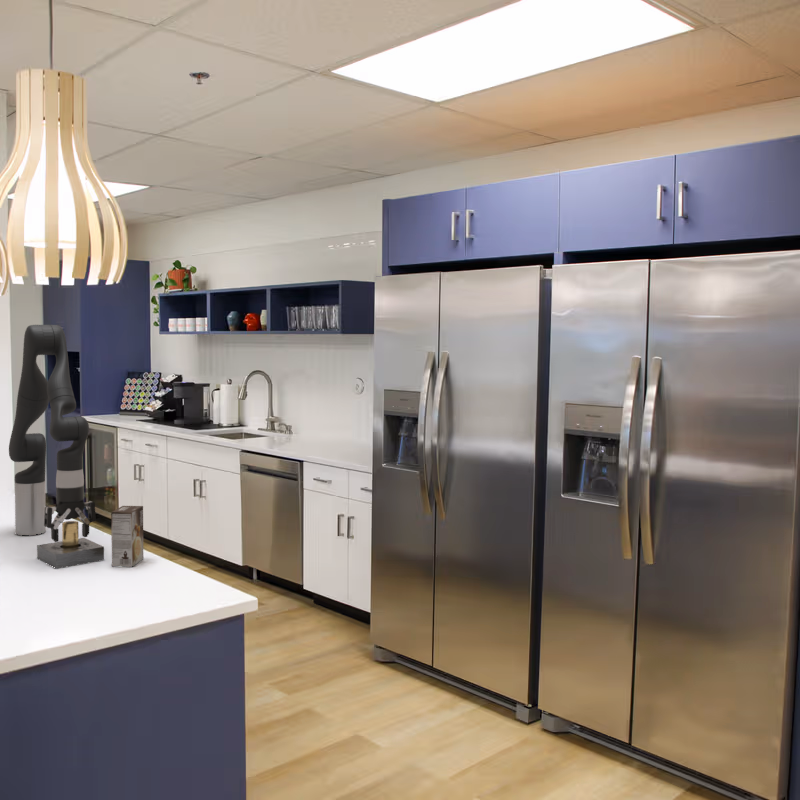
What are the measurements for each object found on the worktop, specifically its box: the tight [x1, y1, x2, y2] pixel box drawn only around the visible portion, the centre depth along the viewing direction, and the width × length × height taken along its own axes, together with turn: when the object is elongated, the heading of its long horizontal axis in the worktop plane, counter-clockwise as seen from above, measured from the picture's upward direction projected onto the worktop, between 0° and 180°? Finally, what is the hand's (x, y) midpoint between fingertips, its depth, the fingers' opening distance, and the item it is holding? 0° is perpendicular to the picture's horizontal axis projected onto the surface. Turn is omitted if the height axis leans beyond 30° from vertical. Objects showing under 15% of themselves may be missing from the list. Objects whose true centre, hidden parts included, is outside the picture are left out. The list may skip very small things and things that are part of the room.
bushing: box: [61, 520, 80, 549], centre depth 235 cm, size 4×4×10 cm
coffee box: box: [110, 505, 144, 568], centre depth 233 cm, size 9×6×16 cm
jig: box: [36, 537, 105, 569], centre depth 235 cm, size 14×14×4 cm
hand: (70, 538), depth 235 cm, fingers open, 8 cm apart
